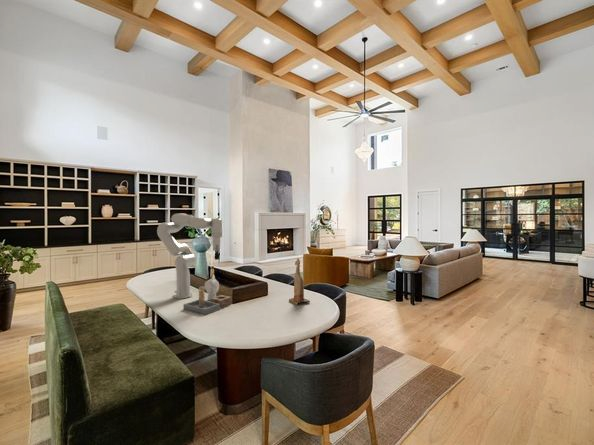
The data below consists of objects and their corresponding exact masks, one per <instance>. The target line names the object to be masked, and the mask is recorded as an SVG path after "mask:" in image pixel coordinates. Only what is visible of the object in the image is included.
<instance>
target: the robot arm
mask: <svg viewBox="0 0 594 445" xmlns="http://www.w3.org/2000/svg"><path fill="white" fill-rule="evenodd" d="M170 220H171V221H166V222H161V223H160V224H159V225H158V226H157V229H156V234H157V236H158V238H159V240H161V242H162V243H163V245H164V247H165V248H166V249H167V251H168V253H169V254H170V255H171V256H172V257H175V260H174V266H175V270H176V271H175V272H176V274H175V276H176V277H175V278H176V279H175V280H176V290H175V291H174V293H175V294H174V298H175V299H179V300H181V299H188V298H189V299H190V298H191V297H193V293H191V274H190V269H189V267H191V266H194V265H195V264H196V262H197V258H196V256H195V254H194V252H193V250H191V248H190V246H189V245H188V244H186V243H184V242H178V241H177V240H176V239H175V237H174V236H173V235H172V234H174V233H177V232H179V231H180V230H182V229H183V228H184V227H190V228H194V229H201V230H203V229H211V238H212V251H213V252H214V260H220V251H221V238H223V219H222V218H215V217H214V218H211V217H209V218H208V217H206V218H205V217H203V218H202V217H196V216H194V215H191V214H187V213H174V214H173V215H171V218H170Z"/></svg>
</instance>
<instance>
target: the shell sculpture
mask: <svg viewBox="0 0 594 445" xmlns="http://www.w3.org/2000/svg"><path fill="white" fill-rule="evenodd" d="M204 287H205V291H206V292H207V301H209V302H211V298H214V297H217V293H218V292H219V289H220V283H219V281H218V280H216V277H215V274H212V276H211V277H210V279H209V280H207V281H205V282H204Z"/></svg>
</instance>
